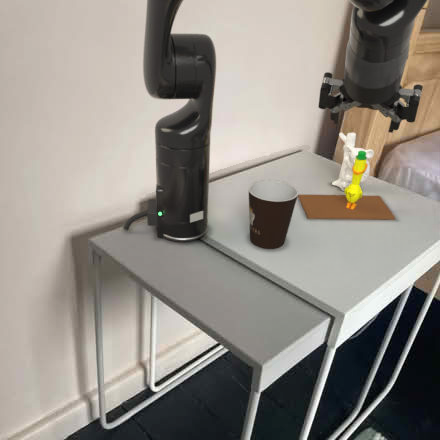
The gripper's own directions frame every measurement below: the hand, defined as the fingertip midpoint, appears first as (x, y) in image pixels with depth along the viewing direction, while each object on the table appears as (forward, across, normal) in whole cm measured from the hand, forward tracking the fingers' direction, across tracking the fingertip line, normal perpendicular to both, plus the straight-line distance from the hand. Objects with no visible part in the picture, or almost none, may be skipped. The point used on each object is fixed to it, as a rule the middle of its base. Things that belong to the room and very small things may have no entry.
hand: (364, 123), depth 79 cm
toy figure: (+26, +1, -5) cm, 27 cm away
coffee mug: (+13, -12, -18) cm, 26 cm away
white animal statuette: (+34, -2, +2) cm, 34 cm away
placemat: (+26, -1, -5) cm, 27 cm away
